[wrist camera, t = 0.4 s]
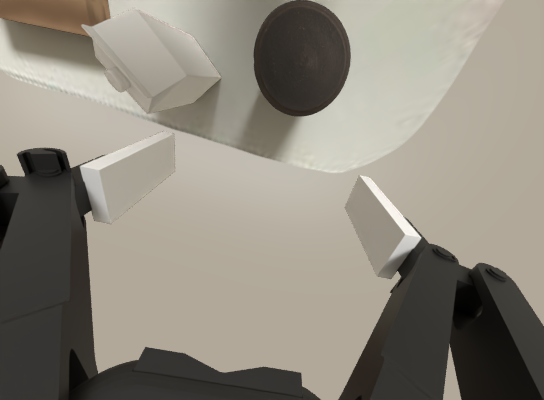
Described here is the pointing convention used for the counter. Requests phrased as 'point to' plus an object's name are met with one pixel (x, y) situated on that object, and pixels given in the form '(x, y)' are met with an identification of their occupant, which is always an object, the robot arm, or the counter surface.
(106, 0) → the socket block
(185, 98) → the milk carton
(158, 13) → the counter surface
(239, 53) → the counter surface
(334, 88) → the container
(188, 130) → the counter surface
